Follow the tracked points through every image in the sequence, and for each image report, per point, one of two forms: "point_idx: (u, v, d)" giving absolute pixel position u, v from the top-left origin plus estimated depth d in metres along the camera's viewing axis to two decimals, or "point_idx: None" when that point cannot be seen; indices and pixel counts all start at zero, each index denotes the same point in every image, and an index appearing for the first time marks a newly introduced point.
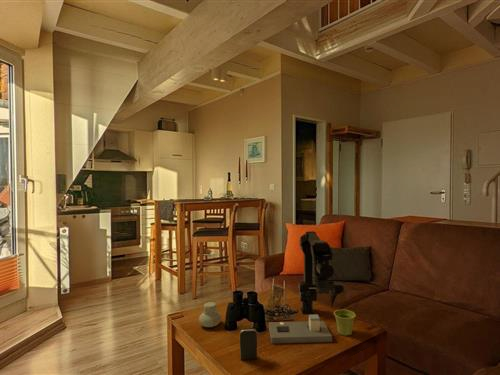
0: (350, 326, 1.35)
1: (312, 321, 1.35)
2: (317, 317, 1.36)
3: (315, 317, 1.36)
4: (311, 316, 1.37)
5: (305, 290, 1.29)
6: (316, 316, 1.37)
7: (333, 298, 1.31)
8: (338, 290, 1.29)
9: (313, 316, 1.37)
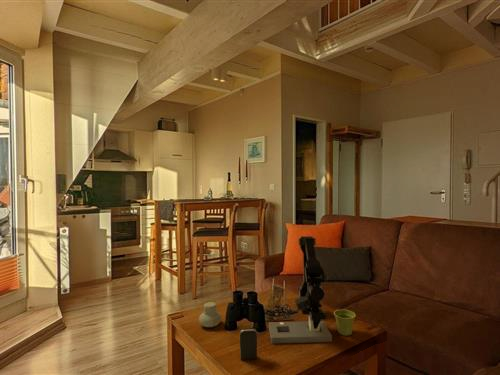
0: (350, 326, 1.35)
1: (312, 321, 1.35)
2: None
3: None
4: None
5: None
6: None
7: None
8: (310, 315, 1.30)
9: None
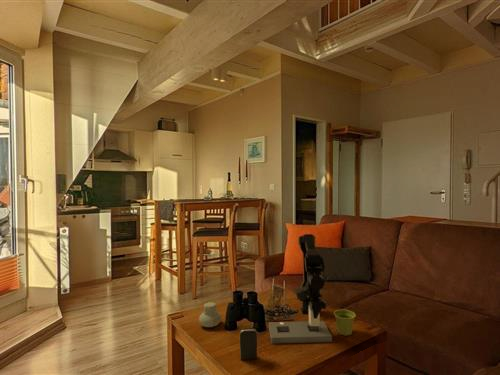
0: (350, 326, 1.35)
1: (312, 311, 1.35)
2: None
3: None
4: None
5: None
6: None
7: None
8: (310, 304, 1.30)
9: None
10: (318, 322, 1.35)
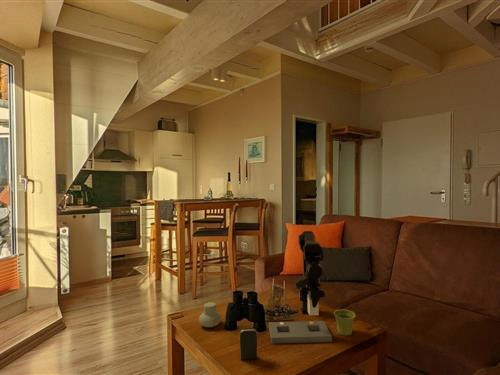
0: (350, 326, 1.35)
1: (311, 300, 1.35)
2: None
3: None
4: None
5: None
6: None
7: (311, 299, 1.34)
8: (309, 293, 1.30)
9: None
10: (317, 311, 1.35)
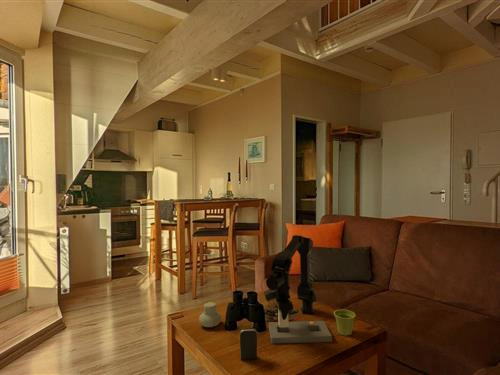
0: (350, 326, 1.35)
1: None
2: None
3: None
4: None
5: None
6: None
7: (281, 311, 1.34)
8: None
9: None
10: (287, 323, 1.35)
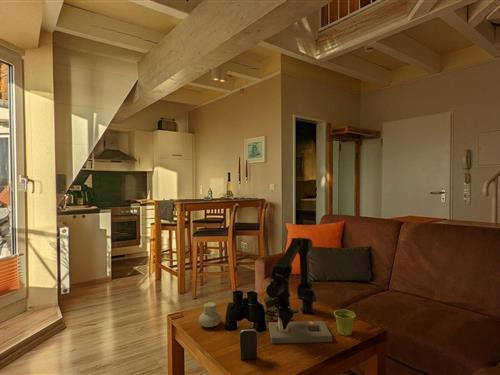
0: (350, 326, 1.35)
1: (281, 322, 1.35)
2: None
3: None
4: None
5: None
6: None
7: None
8: (278, 313, 1.29)
9: None
10: None
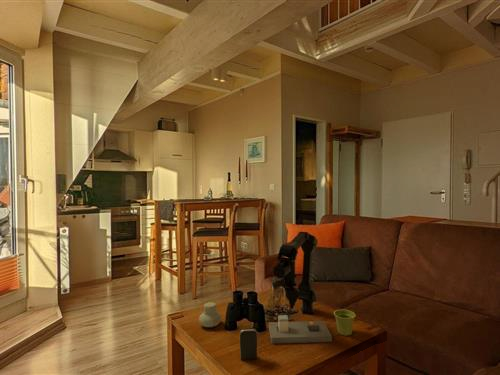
0: (350, 326, 1.35)
1: (281, 322, 1.35)
2: (286, 318, 1.36)
3: (284, 318, 1.36)
4: (280, 317, 1.37)
5: None
6: (285, 317, 1.37)
7: None
8: (285, 293, 1.35)
9: (282, 317, 1.37)
10: None
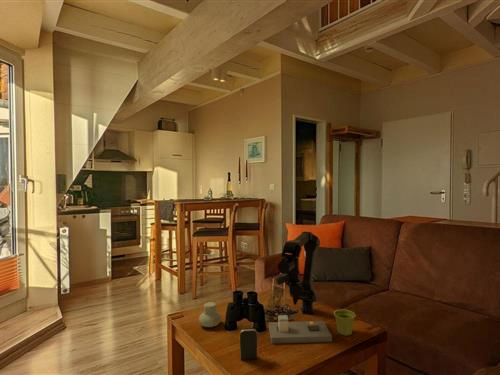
0: (350, 326, 1.35)
1: (281, 322, 1.35)
2: (286, 318, 1.36)
3: (284, 318, 1.36)
4: (280, 317, 1.37)
5: None
6: (285, 317, 1.37)
7: (292, 296, 1.40)
8: (288, 289, 1.38)
9: (282, 317, 1.37)
10: None
